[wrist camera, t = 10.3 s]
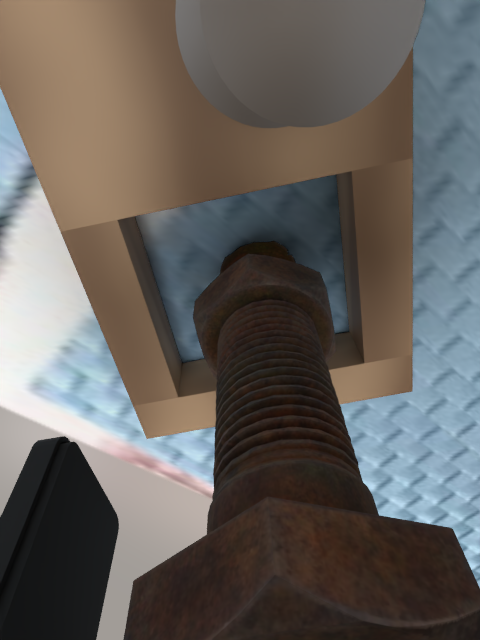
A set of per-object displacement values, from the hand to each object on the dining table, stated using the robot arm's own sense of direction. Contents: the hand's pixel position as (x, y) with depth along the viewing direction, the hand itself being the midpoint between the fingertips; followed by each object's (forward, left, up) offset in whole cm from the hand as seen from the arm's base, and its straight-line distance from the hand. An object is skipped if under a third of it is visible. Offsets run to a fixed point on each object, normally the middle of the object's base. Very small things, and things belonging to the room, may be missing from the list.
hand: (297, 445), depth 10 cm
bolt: (0, +1, -11) cm, 11 cm away
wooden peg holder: (0, -2, -11) cm, 11 cm away
